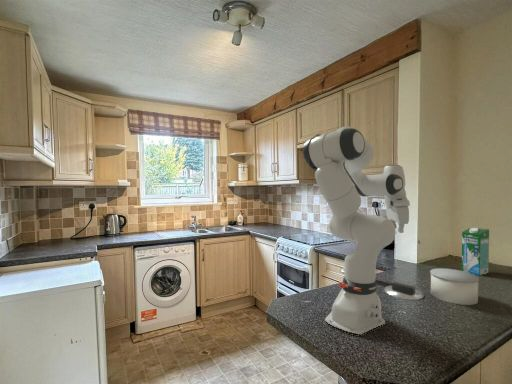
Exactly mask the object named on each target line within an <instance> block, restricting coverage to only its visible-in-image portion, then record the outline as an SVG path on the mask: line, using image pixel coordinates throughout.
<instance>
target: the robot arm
mask: <svg viewBox="0 0 512 384" xmlns="http://www.w3.org/2000/svg"><path fill="white" fill-rule="evenodd" d="M374 152H375V151H374V149H373V147H372V145H371V143H370V142H369V141H368V140H367V138H366V137H364V135H363V134H362V132H361V131H359V130H357V129H356V128H354V127H352V126H349V125H347V126H342V127H340V128H338V129H337V130H336V131H331V132H325V133H323V134H319V135H318V136H316V137H315V136H314V137H311V138H309V139H307V140H306V141H305V142H304V143H303V148H302V155H303V156H302V157H303V159H304V160H305V161H306V163H307V164H308V166H309V167H310V169H312V170H313V171H315V173H314V178H315V181H316V183H317V184H316V185H317V186H318V189H319V191H320V192H321V195H322V196H323V198H324V200H325V202H326V203H327V205H328V207H329V208H330V210H331V212H332V216H331V218H330V219H329V224H328V226H329V227H328V228H329V231H330V233H331V234H332V235H333V236H335V237H336V238H338V239H340V240H343V241H348V242H352V243H356V247H355V250H353V251H352V252H349V253H348V254H347V255H346V256H345V257H344V276H343V279H342V281H339V282H338V287H339V288H341V289H340V291H339V293H338V295H337V296H336V298H335V300H334V302H333V304H332V305H331V306H332V307H331V311H330V313H329V314H328V315H327V316H326V317H325V318H324V322H325V321H326V322H327V323H328V324H330V325H332V326H334V327H337V328H339V329H342V330H344V331H348V332H352V333H356V334H362V333H364V332H367V331H369V330H371V329H373V328H376V327H378V326H380V327H382V326H384V325H386V320H385V319H384V318H383V317H382V304H381V299H380V297H379V295H378V293H377V288H378V283H377V280H376V272H377V271H376V270H377V261H378V257H379V255H380V253H381V252H382V251H383V249H385V248H386V247H387V246H390V244H392V242H393V241H394V240H395V237H396V234H397V232H398V233H400V234H403V233H404V231H405V230H404V229H405V228H404V227H405V225H408V224H409V221H410V209H409V207H410V206H411V204H410V200H409V199H408V198H407V192H406V189H405V188H406V187H405V186H406V177H405V171H404V167H403V166H401V165H398V164H389V165H385V166H384V168H383V172H382V173H376V174H365V173H363V172H362V170H364V169H366V168H367V167H368V166H369V165H370V164H372V161H373V159H374V155H375V153H374ZM374 196H378V197H381V196H383V197H384V205H385V211H386V212H385V214H386V217H387V218H386V217H385V216H380V215H376V214H365V213H360V212H358V210H359V209H360V207H361V206H362V198H361V197H374ZM397 225H398V226H397ZM397 227H398V228H397ZM396 229H397V230H396ZM396 231H397V232H396ZM326 322H325V323H326ZM327 323H326V324H327ZM328 324H327V325H328ZM383 324H384V325H383ZM330 325H329V326H330ZM381 325H382V326H381ZM332 326H331V327H332ZM378 328H379V327H378ZM376 329H377V328H376Z"/></svg>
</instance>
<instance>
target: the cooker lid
mask: <svg viewBox="0 0 512 384" xmlns="http://www.w3.org/2000/svg"><path fill="white" fill-rule="evenodd" d="M391 284H392V285H386V286H385V287H384V289H383V290H384V292H385V293H386V294H388V295H389V296H391V297H393V298H398V299H401V300H406V301H419V300H422V299H424V297H425V296H424V293H423V292H422V291H421V290H419V289H416V286H413V285H409V284H404V283H399V282H396V281H394V282H392V283H391Z"/></svg>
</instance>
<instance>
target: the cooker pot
mask: <svg viewBox="0 0 512 384" xmlns="http://www.w3.org/2000/svg"><path fill="white" fill-rule="evenodd" d="M429 274H430V294H431V295H432V297H434V298H436V299H438V300H441V301H443V302H446V303H450V304H453V305H454V304H455V305H461V306H473V305H474V306H475V305H477V304H478V302H479V281H480V276H478V275H475V274H471V273H468V272H464V271H462V270H458V269H454V268H453V269H452V268H441V267H440V268H432V269H431V270H430V271H429Z"/></svg>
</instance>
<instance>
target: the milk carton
mask: <svg viewBox="0 0 512 384" xmlns="http://www.w3.org/2000/svg"><path fill="white" fill-rule="evenodd" d="M489 252H490V229H489V228H488V229H487V228H481V227H469V228H467V229H466V230H464V231H462V232H461V271H464V272H468V273H472V274H474V275H475V274H476V276H479V275H480V276H483V274H484V275H488V274H489V263H490V261H489V260H490V259H489V257H490V256H489V255H490V253H489ZM487 273H488V274H487Z"/></svg>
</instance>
